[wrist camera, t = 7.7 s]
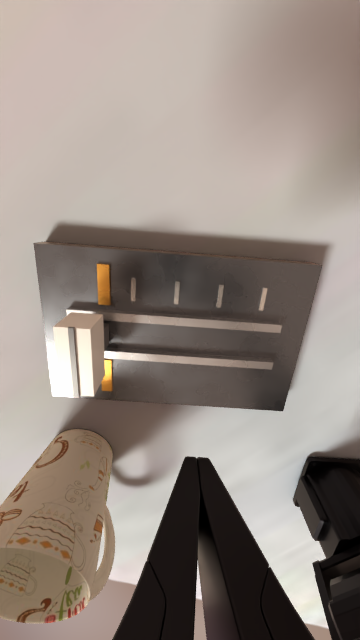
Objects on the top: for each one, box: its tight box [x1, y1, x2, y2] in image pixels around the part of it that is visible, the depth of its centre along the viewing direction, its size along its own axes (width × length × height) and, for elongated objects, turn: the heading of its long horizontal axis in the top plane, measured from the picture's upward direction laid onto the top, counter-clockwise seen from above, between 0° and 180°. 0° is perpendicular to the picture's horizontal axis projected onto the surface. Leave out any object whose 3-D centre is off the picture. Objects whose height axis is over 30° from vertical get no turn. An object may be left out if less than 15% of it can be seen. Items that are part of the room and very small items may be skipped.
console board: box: [34, 242, 322, 411], centre depth 19 cm, size 19×12×2 cm, turn 86°
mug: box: [0, 429, 115, 623], centre depth 21 cm, size 8×13×10 cm, turn 27°
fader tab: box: [53, 312, 109, 398], centre depth 17 cm, size 2×4×4 cm, turn 176°
